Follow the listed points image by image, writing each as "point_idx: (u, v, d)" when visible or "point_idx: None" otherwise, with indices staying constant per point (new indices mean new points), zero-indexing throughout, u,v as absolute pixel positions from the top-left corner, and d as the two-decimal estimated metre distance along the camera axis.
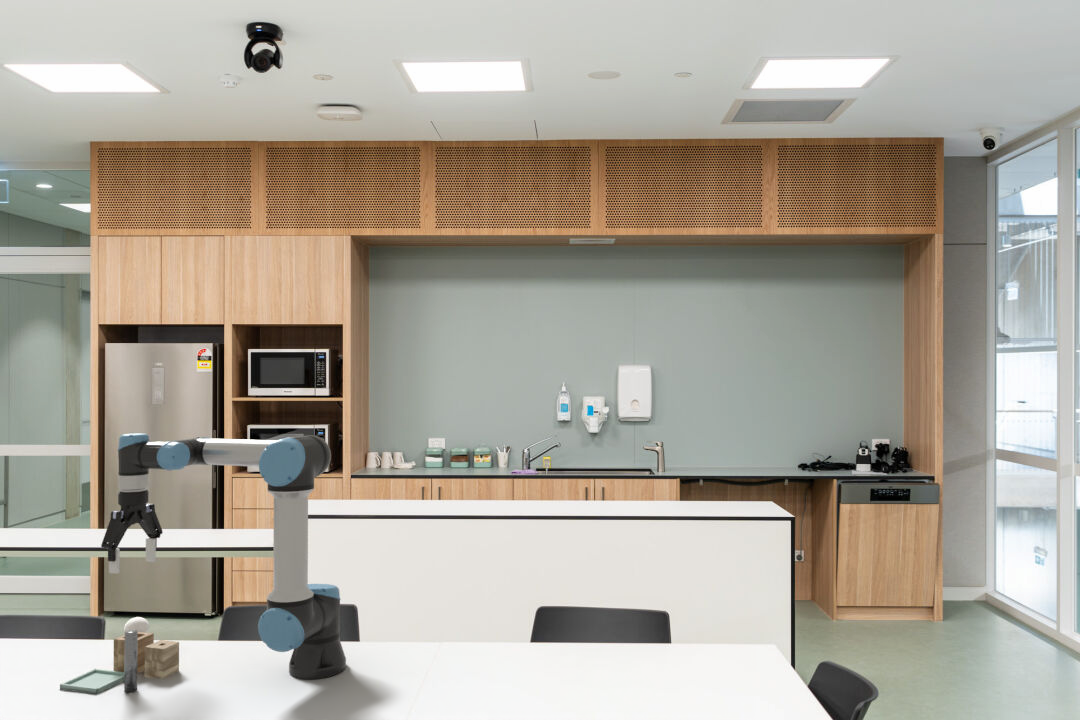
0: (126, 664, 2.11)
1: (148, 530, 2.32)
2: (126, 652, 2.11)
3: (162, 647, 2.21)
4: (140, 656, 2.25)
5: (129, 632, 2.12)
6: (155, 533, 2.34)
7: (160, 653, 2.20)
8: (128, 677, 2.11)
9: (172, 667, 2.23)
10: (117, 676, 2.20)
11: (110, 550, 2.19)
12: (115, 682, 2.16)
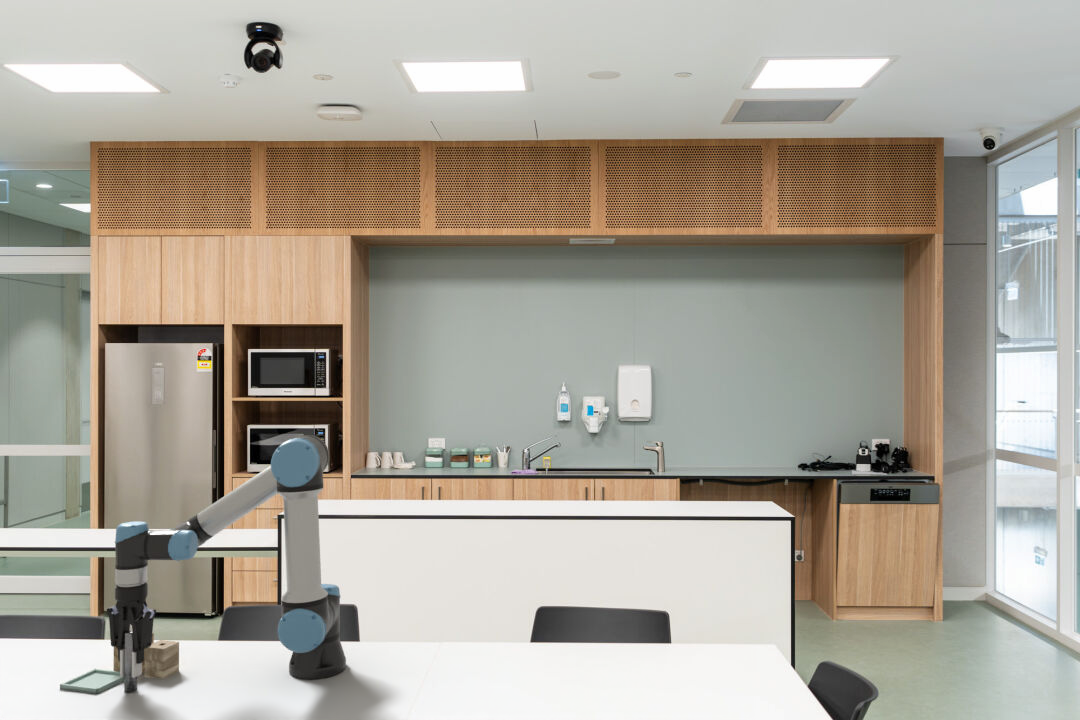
0: (126, 664, 2.11)
1: None
2: (126, 652, 2.11)
3: (162, 647, 2.21)
4: None
5: (129, 632, 2.12)
6: (136, 645, 2.10)
7: (160, 653, 2.20)
8: (128, 677, 2.11)
9: (172, 667, 2.23)
10: (117, 676, 2.20)
11: None
12: (115, 682, 2.16)
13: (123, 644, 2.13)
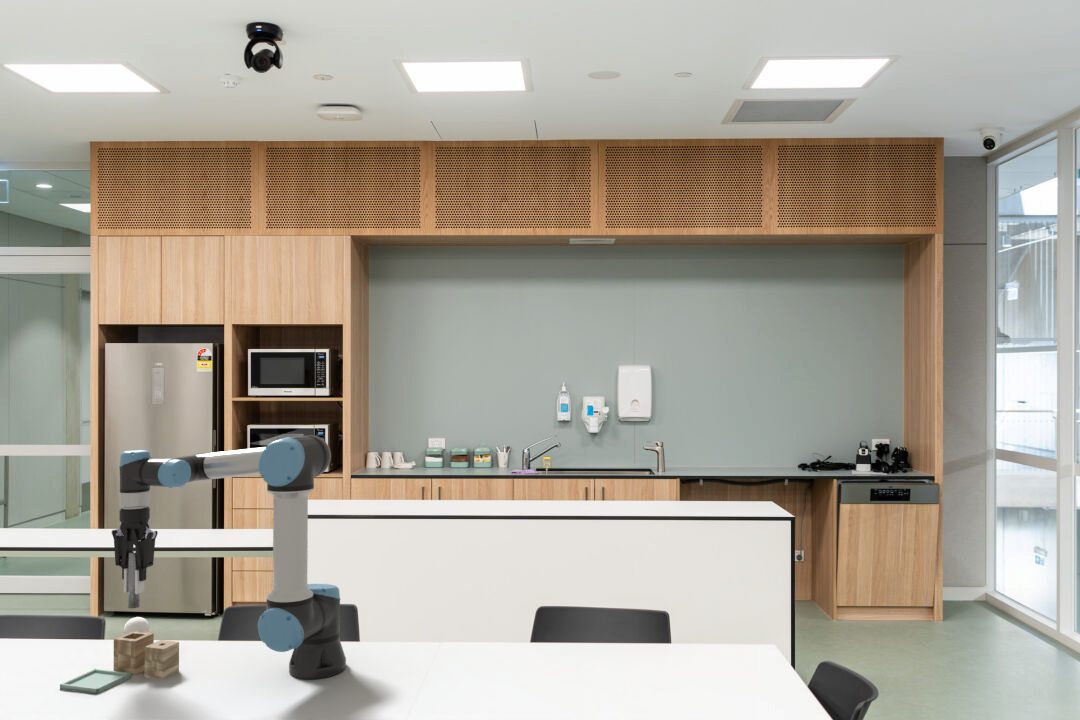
0: (129, 581, 2.26)
1: None
2: (129, 570, 2.26)
3: (162, 647, 2.21)
4: (140, 656, 2.25)
5: (132, 552, 2.27)
6: (139, 564, 2.26)
7: (160, 653, 2.20)
8: (131, 594, 2.26)
9: (172, 667, 2.23)
10: (117, 676, 2.20)
11: None
12: (115, 682, 2.16)
13: (127, 564, 2.28)
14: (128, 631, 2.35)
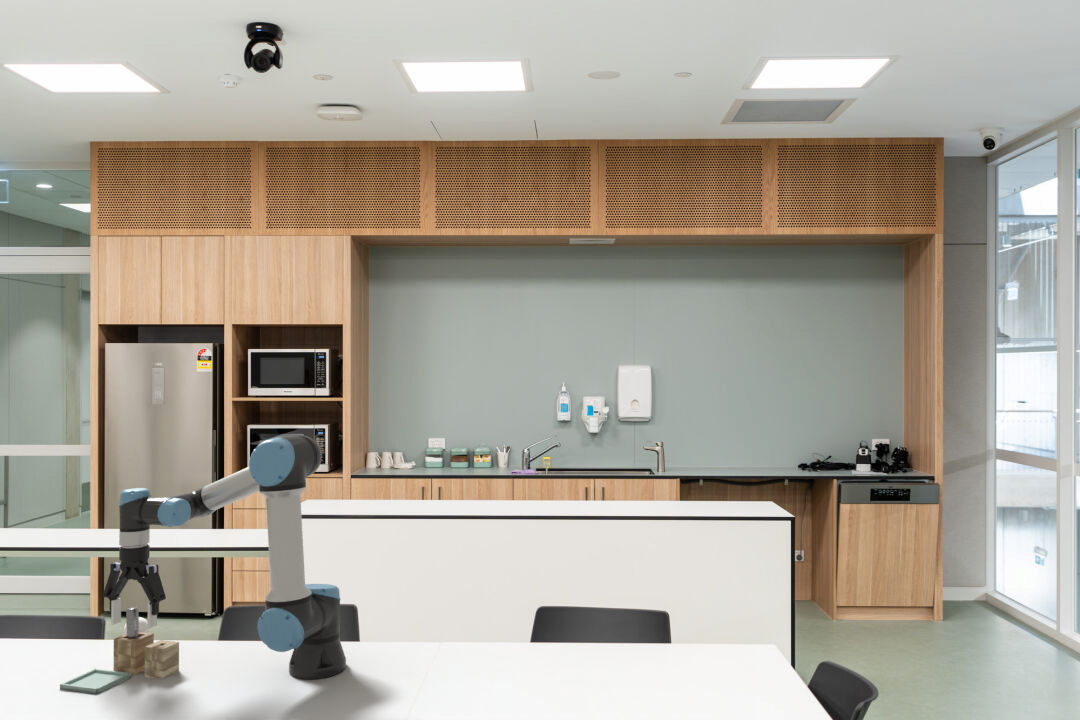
0: (128, 638, 2.26)
1: None
2: (128, 627, 2.26)
3: (162, 647, 2.21)
4: (140, 656, 2.25)
5: (130, 609, 2.27)
6: (151, 598, 2.25)
7: (160, 653, 2.20)
8: None
9: (172, 667, 2.23)
10: (117, 676, 2.20)
11: None
12: (115, 682, 2.16)
13: None
14: None
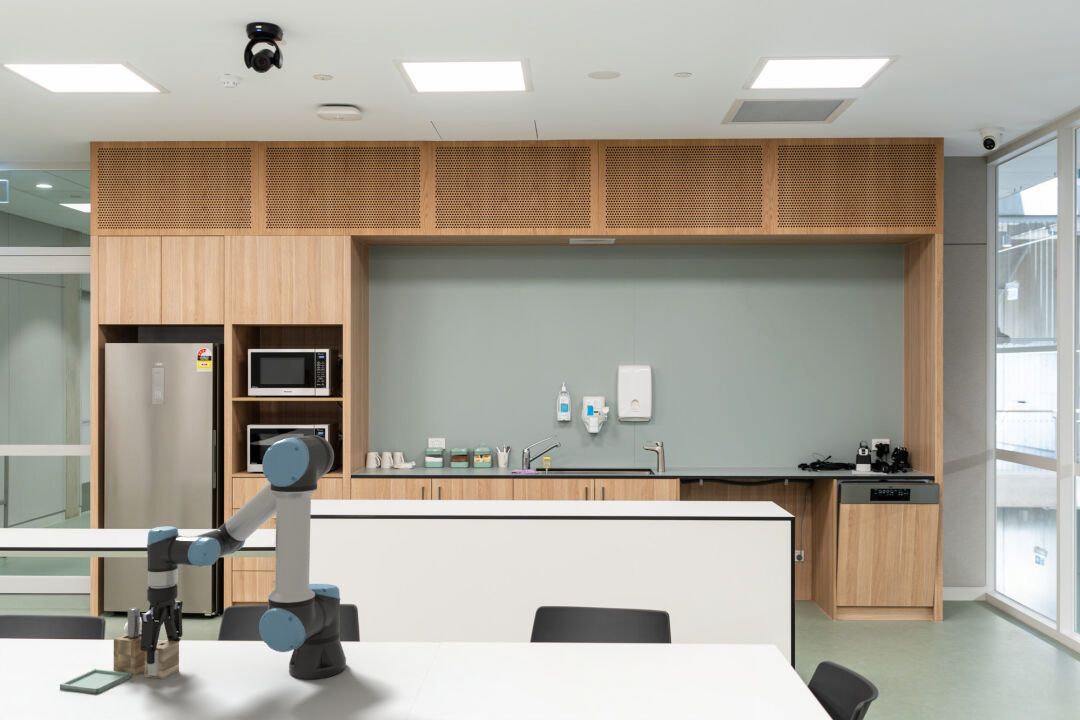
0: None
1: (170, 630, 2.26)
2: (129, 627, 2.26)
3: (162, 647, 2.21)
4: (140, 656, 2.25)
5: (132, 609, 2.27)
6: (176, 636, 2.28)
7: (160, 652, 2.20)
8: None
9: (172, 666, 2.23)
10: (117, 676, 2.20)
11: (149, 653, 2.19)
12: (115, 682, 2.16)
13: None
14: None
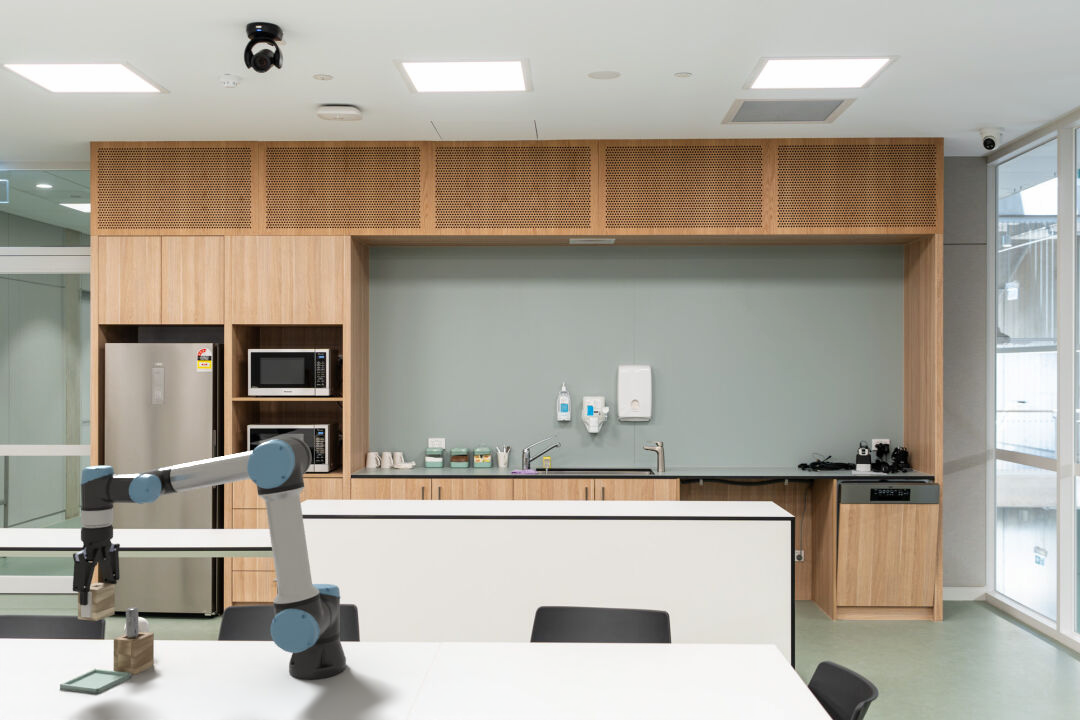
0: None
1: (106, 573, 2.20)
2: (128, 628, 2.26)
3: (96, 588, 2.15)
4: (140, 656, 2.25)
5: (130, 609, 2.27)
6: (112, 579, 2.21)
7: (94, 594, 2.14)
8: None
9: (106, 609, 2.17)
10: (117, 676, 2.20)
11: (82, 594, 2.12)
12: (115, 682, 2.16)
13: None
14: None
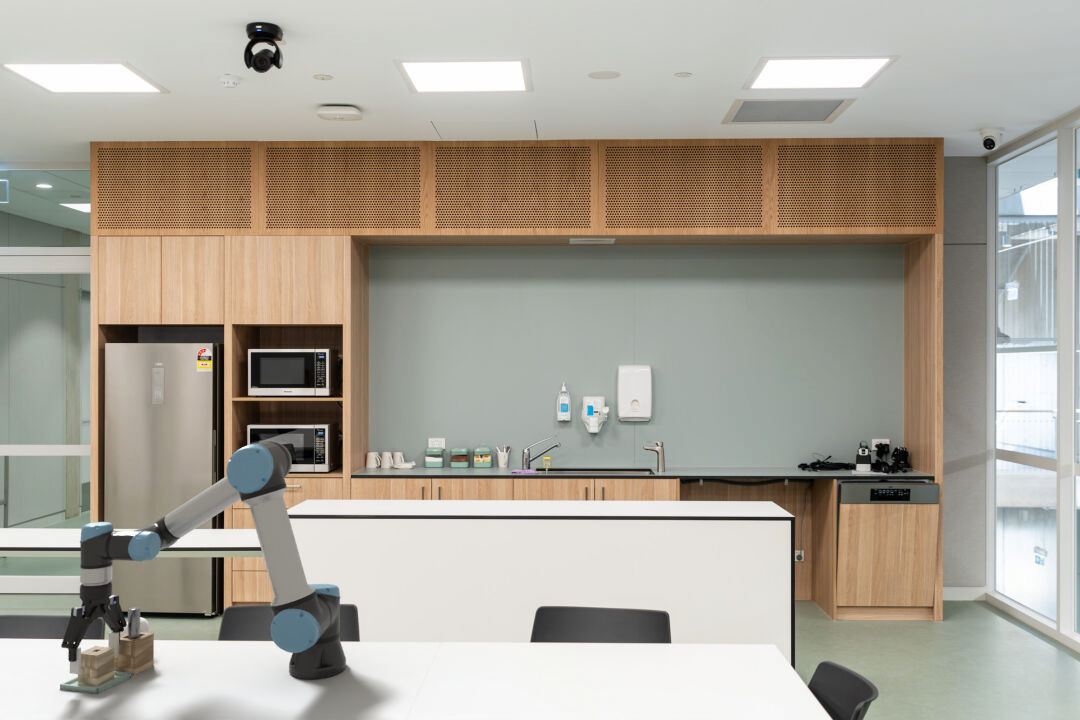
0: None
1: (111, 624, 2.22)
2: (129, 627, 2.26)
3: (96, 653, 2.15)
4: (140, 656, 2.25)
5: (132, 609, 2.27)
6: (119, 627, 2.23)
7: (94, 659, 2.14)
8: None
9: (106, 674, 2.17)
10: (117, 676, 2.20)
11: (71, 650, 2.09)
12: (115, 682, 2.16)
13: None
14: None
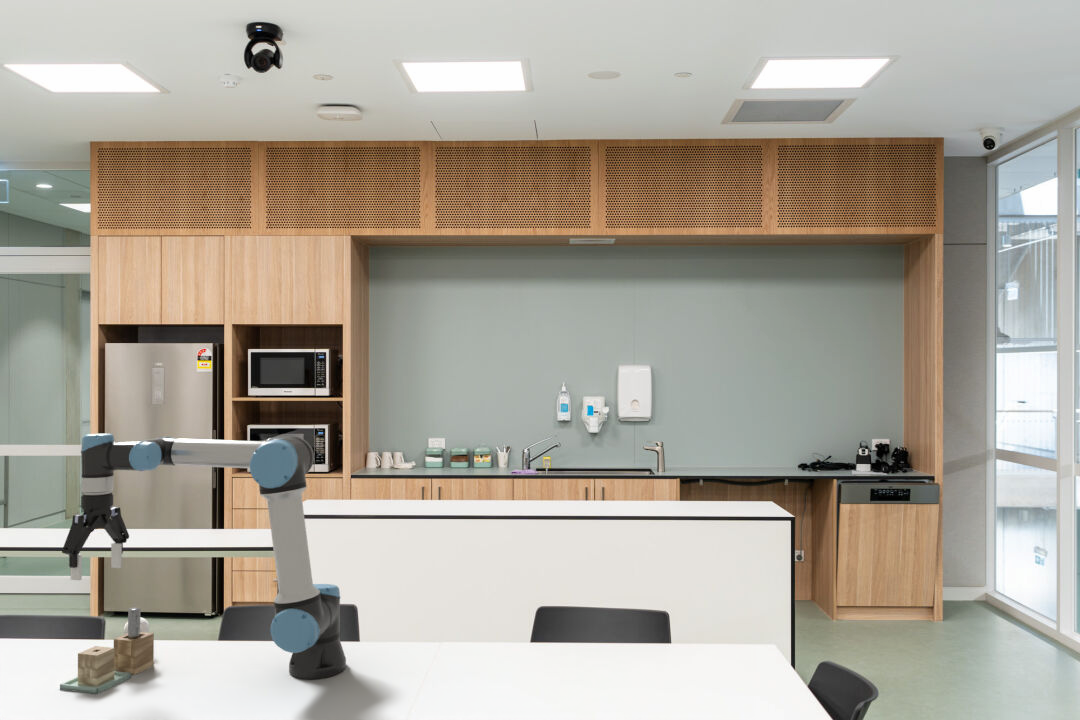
0: None
1: (113, 535, 2.22)
2: (129, 627, 2.26)
3: (96, 653, 2.15)
4: (140, 656, 2.25)
5: (132, 609, 2.27)
6: (121, 538, 2.24)
7: (94, 659, 2.14)
8: None
9: (106, 674, 2.17)
10: (117, 676, 2.20)
11: (71, 556, 2.09)
12: (115, 682, 2.16)
13: None
14: None
